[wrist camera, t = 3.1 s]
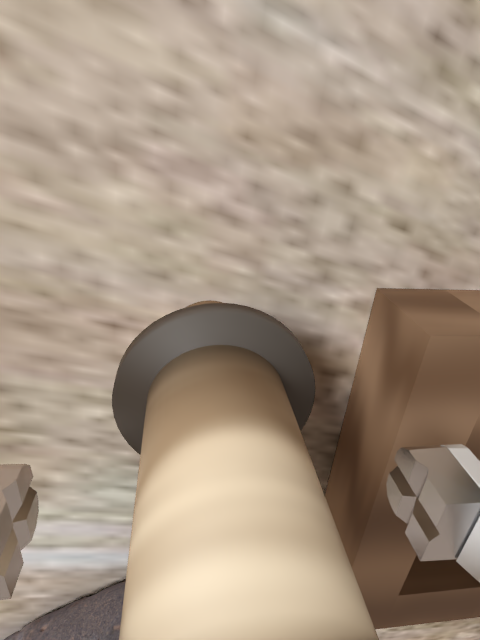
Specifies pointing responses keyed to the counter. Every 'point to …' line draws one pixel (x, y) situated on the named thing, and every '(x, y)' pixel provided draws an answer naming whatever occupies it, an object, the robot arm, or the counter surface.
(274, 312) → the counter surface
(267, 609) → the maple peg
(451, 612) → the walnut board
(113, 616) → the perforated stone tool
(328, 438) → the counter surface
